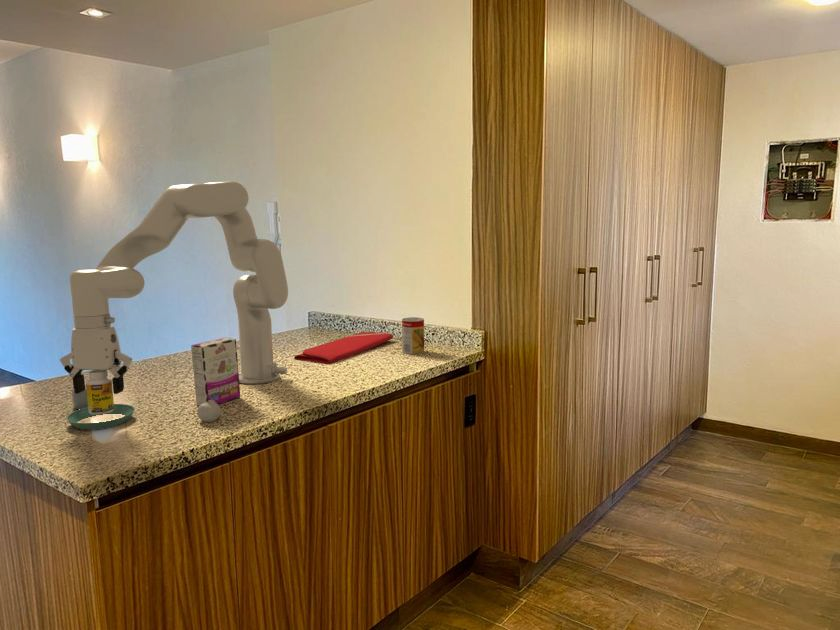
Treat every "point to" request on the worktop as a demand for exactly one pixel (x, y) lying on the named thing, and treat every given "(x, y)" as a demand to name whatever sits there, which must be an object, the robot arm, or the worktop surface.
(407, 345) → the canned food
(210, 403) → the garlic
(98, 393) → the supplement bottle
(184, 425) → the worktop surface
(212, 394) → the candy bar box
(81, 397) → the grey short cylinder
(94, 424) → the saucer
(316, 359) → the dish drying mat
